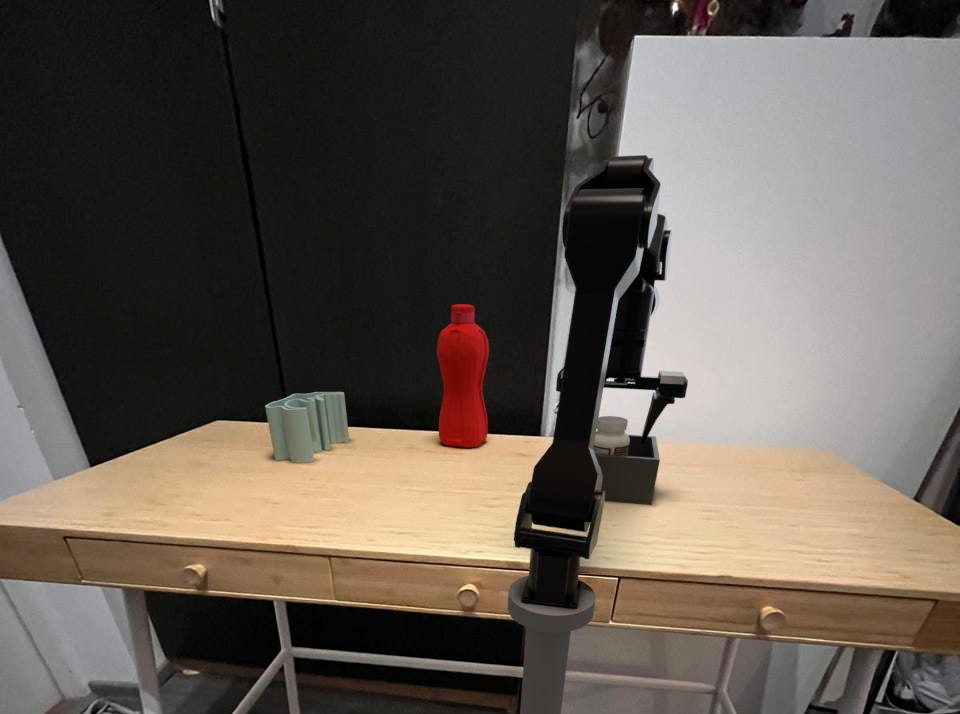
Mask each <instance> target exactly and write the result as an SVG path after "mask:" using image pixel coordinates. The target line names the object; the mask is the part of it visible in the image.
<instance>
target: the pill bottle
mask: <svg viewBox="0 0 960 714" xmlns="http://www.w3.org/2000/svg"><path fill="white" fill-rule="evenodd" d="M628 422H629V420H628V419H627V418H625V417H621V416H614V415H612V416H611V415H606V416H605V415H604V416H599V417H598V423H597V429H596V435H595V441H594V447H593V451H594V453H595V454H604V455H618V456H628V450H629V443H630V438H629V436H628V435H629V434H627V433H626V430H627V429H628Z"/></svg>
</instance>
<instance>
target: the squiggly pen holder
mask: <svg viewBox="0 0 960 714" xmlns="http://www.w3.org/2000/svg"><path fill="white" fill-rule="evenodd" d="M264 407H265V413H266V419H267V424H268V429H269V435H270V440H271V445H272V451H273V457H274V460H275V461H283V460H284V461H285V460H290V461H291V462H292V463H296V464H300V463H301V464H303V463H311V462H314V461H315V456H314V453H319V452H322V451H323V450H324V451H330V450H331V444H334V443H337V444H342V443H346V444H347V443H349V442H350V434H349V425H348V414H347V407H346V397H345V392H343V391H314V392H310V393H292V394H290V395H289V396H287V397H285V398H282V399H279V400H275V401H271V402H269V403H267V404H266V405H264Z"/></svg>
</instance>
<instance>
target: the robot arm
mask: <svg viewBox="0 0 960 714" xmlns="http://www.w3.org/2000/svg"><path fill="white" fill-rule="evenodd" d="M661 186H662V185H661V182H660V180H659V179H658V178H657V177H656V176H655V174H654V158H652V157H648V156H647V155H646V154H644V155H643V154H640V155H637V154H636V155H615V156H614V155H613V156H610V157H609V159H603V160H602V162H601V166H600V168H599V169H598V171H596V172H594V173H592V174H591V175H589V177H587V178H584V179H583V180H582V181H581V182H579V183H578V184H576V186H574V189H573V191H572V193H571V195H570V197H569V198H568V201H567V204H566V206H565V209H564V212H563V217H562V227H561V228H562V229H561V232H562V234H561V236H562V237H561V239H562V244H563V247H564V252H563V253H564V260H565V264H566V265H567V268H568V271H569V274H570V276H571V278H572V282H573V285H574V288H575V289H574V296H573V297H574V299H573V305H572V311H571V318H570V325H569V331H568V338H567V343H566V344H567V345H566V351H565V356H564V357H565V358H564V365H563V367H562V368H561V369H560V370H559V371H558V372H557V376H556V385H555V386H556V387H555V391H556V392H559V398H558V404H557V411H556V418H555V424H554V425H555V426H554V431H553V439H552V443H551V444H550V446H549V447H547V449H546V451H545V452H544V454H543V455H542V456H541V457H540V459H539V460H538V461H537V462H536V463H535V465H534V466H533V471H532V476H531V480H530V481H529V482H528V483H527V485H526V488H525V492H523V493H522V494H521V498H520V502H519V506H518V510H517V515H516V520H515V527H514V533H513V542H514V548H518V549H520V548H523V549H529V550H530V553H529V567H528V575H527V576H528V578H527V581H526V584H525V588H524V591H523V594H522V597H521V602H522V603H525V604H533V605H541V606H550V607H558V608H567V609H577V608H578V603H579V596H580V590H581V581H582V580H581V581H579V580H580V579H579V576H580V567H581V559H582V558H584V559H586V560H590V558H591V556H592V554H593V552H594V550H595V548H596V546H597V544H598V541H599V540H598V539H599V535H600V534H599V533H600V529H601V524H602V517H603V512H604V506H605V491H601V486H602V479H603V475H602V471H601V468H600V466H599V464H598V461H597V459H596V456H595V453H594V451H593V447H594V441H595V435H596V432H597V430H598V429H597V423H598V418H599V417H600V410H601V405H602V398H603V392H604V389H619V390H621V389H622V390H623V389H624V390H640V391H641V390H642V391H643V390H644V391H653V392H652V396H651V401H650V405H649V408H648V412H647V415H646V419H645V423H644V425H643V429H642V434H641V436H642V439H641V444H644V442H645V440H646V438H647V437H648V436H650V435H649V434H650V433H651V431H652V430H653V427H654V425H655V423H656V422H657V420H658V419H659V417H660V415H661V414H662V413H663V411H664V410H665V409H666V407H667V406H668V405H674V404H675V402H676V399H685V398H686V395H687V390H688V386H689V385H688V384H689V380H688V378H687V376H686V375H685V374H684V371H672V370H671V371H668V370H659V371H658V375H657V376H650V375H649V376H648V375H642V374H643V367H644V361H645V355H646V349H647V342H648V335H649V329H650V324H651V323H650V322H651V319H652V318H653V317H654V316H655V314H656V313H657V311H658V309H659V306H660V302H661V301H660V300H661V299H660V292H659V290H658V288H657V286H656V285H655V284H656V281H659V282H660V281H662V282H663V281H665V282H667V278H668V272H669V271H668V270H669V261H670V251H671V242H672V235H673V234H672V230H671V229H668V225H669V224H668V220H667V217H666V215H664V214H660V213H659V205H660V195H661ZM608 379H613V380H612V381H611V380H608ZM533 525H535V526H541V527H548V528H555V529H561V530H567V531H574V532H581V533H587V535H586V536H585V535H578V534H571V533H566V532H558V531H553V530H546V529H539V528H533Z"/></svg>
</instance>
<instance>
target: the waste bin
mask: <svg viewBox="0 0 960 714" xmlns="http://www.w3.org/2000/svg"><path fill="white" fill-rule="evenodd" d="M627 435H628V436H629V438H630V443H629V450H628V456H618V455H604V454H595V456H596V459H597V461H598V464H599V466H600V468H601V471H602V475H603V479H602V486H601V491H605V501H606V502H616V503H617V502H618V503H629V504H641V505H652V503H653V498H654V494H655V487H656V484H657V483H656V482H657V477H658V471H659V467H660V461H661V459H660V458H661V457H660V452H659V447H658V441H657V436H656V435H648V437H647V438H646V440H645V442H644V444H641V439H642V434H641V435H640V434H627ZM605 501H604V502H605Z"/></svg>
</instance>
